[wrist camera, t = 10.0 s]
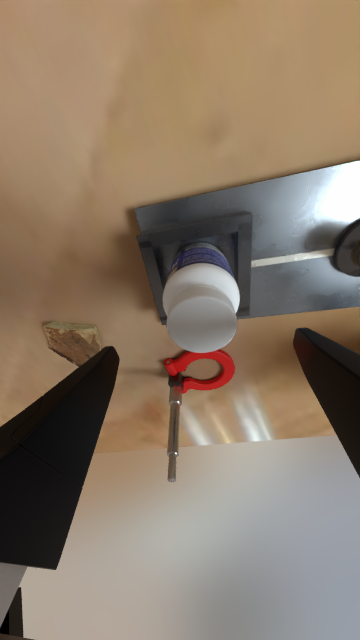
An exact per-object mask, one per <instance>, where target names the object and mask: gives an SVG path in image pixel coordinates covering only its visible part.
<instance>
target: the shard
mask: <svg viewBox="0 0 360 640" xmlns="http://www.w3.org/2000/svg"><path fill="white" fill-rule="evenodd" d="M43 329H44V331H45V333H46V335H47V337H48V340H49V345H50V346H49V347H48V348H50V349H51V350H53V351H54V352H56V353H57V354H58V355H60V356H62V357H64V358H66V359H67V360H68V361H70V362H72V363H73V364H75V365H76V366H78V367H80V366H81V365H82V364H84V363H85V362H86V361H88V360H89V359H90V358H91V357H93V356H94V355H95V354H97V353H98V352H99V351H100V350H101V343H100V340H99V336H98V330H97V329H96V325H84V324H70V323H64V322H56V321H55V322H51V323H48V324H45V325H44V326H43Z"/></svg>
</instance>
